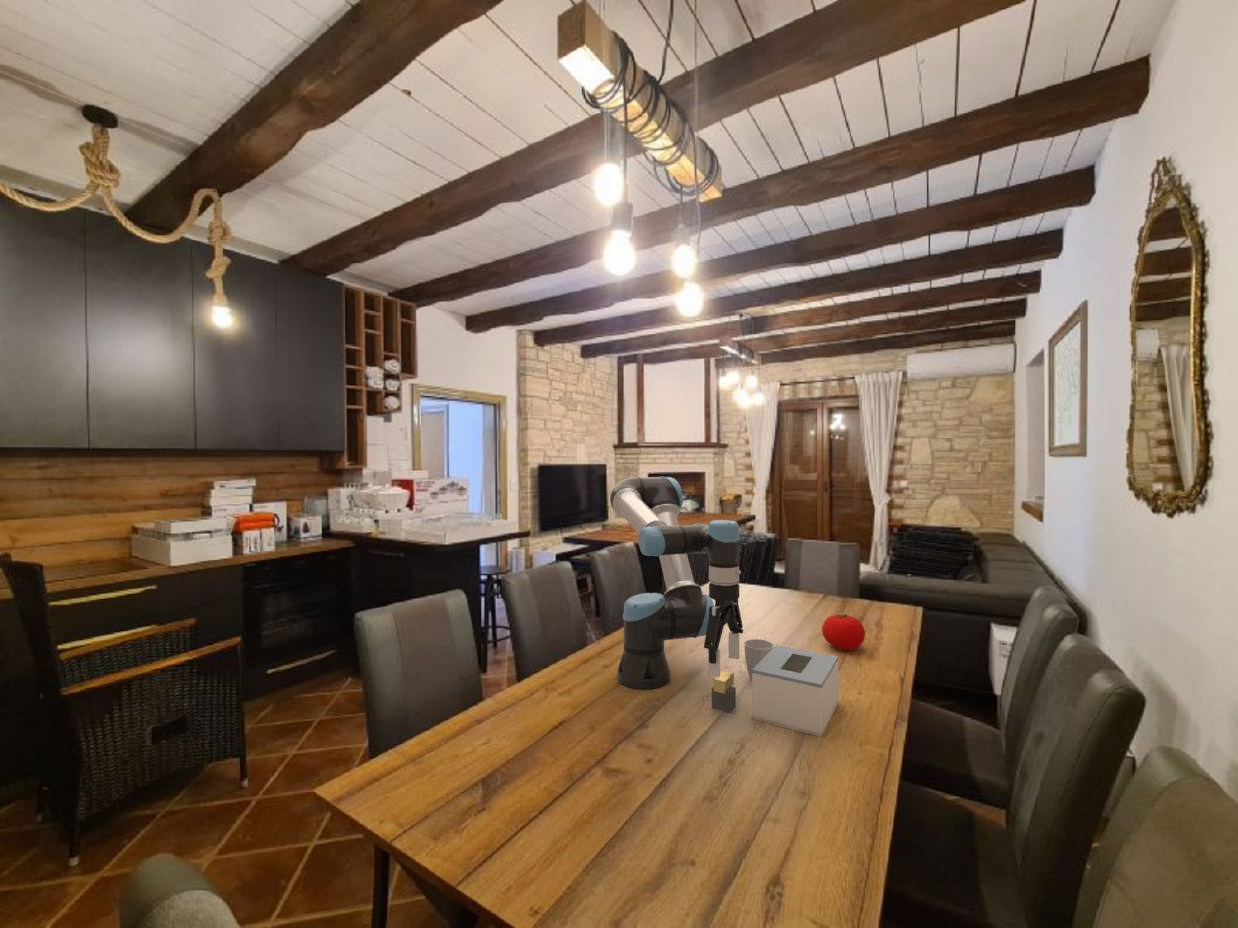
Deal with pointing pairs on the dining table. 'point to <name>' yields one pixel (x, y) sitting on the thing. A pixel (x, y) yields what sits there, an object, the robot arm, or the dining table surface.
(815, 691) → the box
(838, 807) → the dining table surface
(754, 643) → the cup
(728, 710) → the block
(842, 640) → the tomato
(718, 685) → the yellow wooden brick
